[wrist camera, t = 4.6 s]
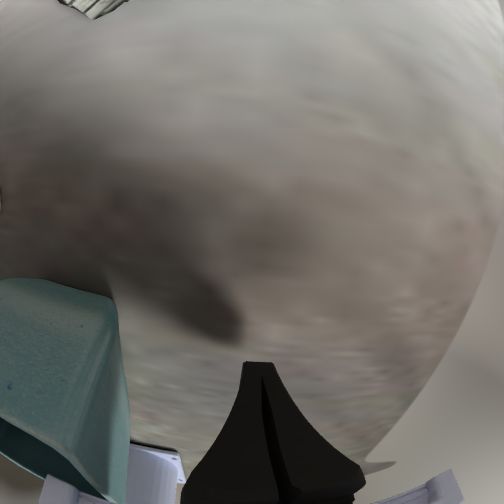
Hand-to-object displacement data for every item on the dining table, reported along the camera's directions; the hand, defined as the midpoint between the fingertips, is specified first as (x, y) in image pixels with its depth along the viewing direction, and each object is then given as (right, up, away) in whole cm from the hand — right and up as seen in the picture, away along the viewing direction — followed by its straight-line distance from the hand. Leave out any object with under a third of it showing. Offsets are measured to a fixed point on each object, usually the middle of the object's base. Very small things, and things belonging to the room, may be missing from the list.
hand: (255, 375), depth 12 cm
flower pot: (-10, +2, +1) cm, 10 cm away
